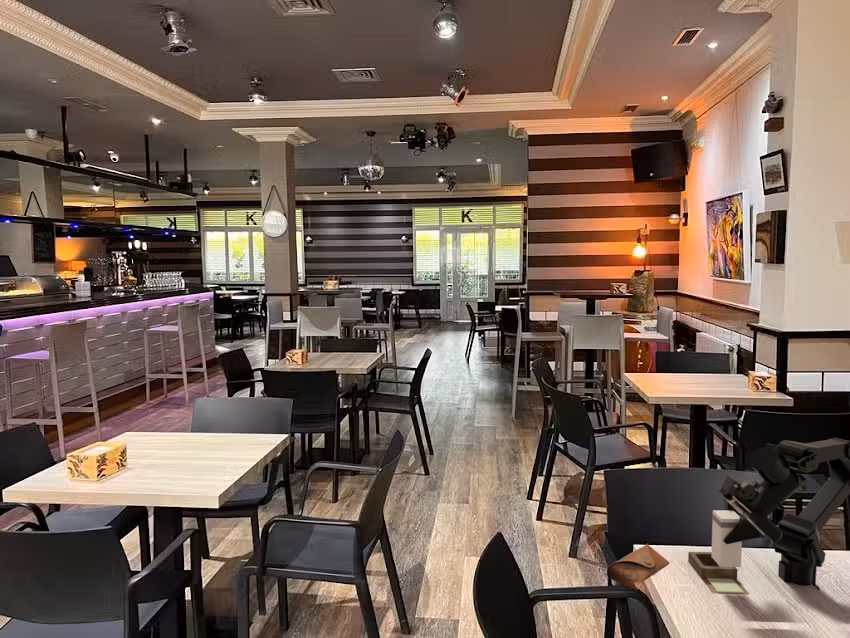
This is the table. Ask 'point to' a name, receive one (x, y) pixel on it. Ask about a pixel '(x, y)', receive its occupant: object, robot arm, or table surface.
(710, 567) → the brown wooden tray
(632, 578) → the sunglasses case
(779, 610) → the table surface
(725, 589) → the green mat
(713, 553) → the cream square block
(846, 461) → the robot arm
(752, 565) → the table surface
